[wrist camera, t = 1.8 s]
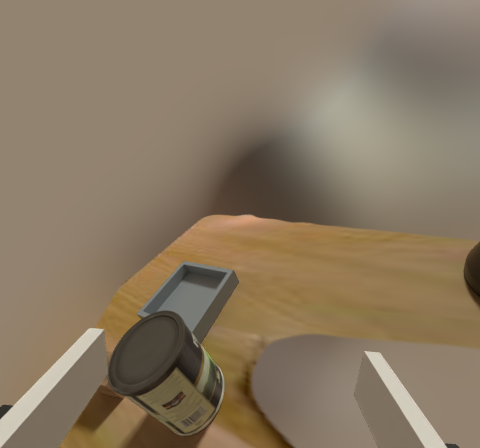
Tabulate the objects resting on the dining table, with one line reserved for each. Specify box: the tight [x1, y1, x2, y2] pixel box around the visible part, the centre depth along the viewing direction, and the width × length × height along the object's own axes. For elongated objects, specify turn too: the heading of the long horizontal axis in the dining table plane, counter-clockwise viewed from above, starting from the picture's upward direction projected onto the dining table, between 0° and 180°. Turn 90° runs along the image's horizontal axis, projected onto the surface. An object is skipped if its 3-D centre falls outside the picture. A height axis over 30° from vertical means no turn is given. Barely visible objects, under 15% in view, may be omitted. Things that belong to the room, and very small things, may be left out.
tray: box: [137, 261, 239, 344], centre depth 51 cm, size 16×16×4 cm
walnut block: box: [97, 351, 125, 399], centre depth 41 cm, size 5×5×5 cm
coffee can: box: [107, 310, 224, 436], centre depth 33 cm, size 10×10×14 cm
